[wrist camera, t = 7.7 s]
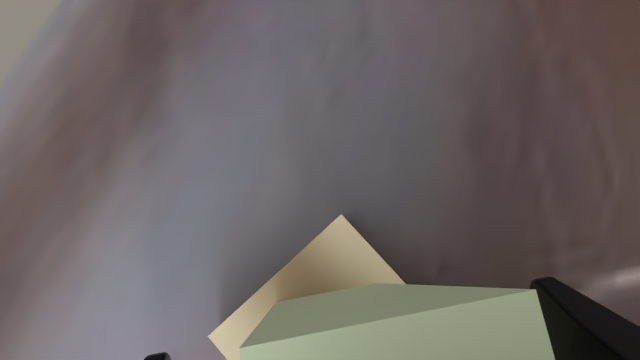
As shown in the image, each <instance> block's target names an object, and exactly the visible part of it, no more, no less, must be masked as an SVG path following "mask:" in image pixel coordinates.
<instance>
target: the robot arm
mask: <svg viewBox="0 0 640 360" xmlns="http://www.w3.org/2000/svg"><path fill="white" fill-rule="evenodd" d="M529 289H536V292H537V295H538V299H539V303H540V306H541V310H542V314H543V317H544V321H545V324H546V328H547V332H548V335H549V339H550V343H551V346H552V350H553V353H554V357H555V360H640V327H639V326H637V325H635V324H634V323H632V322H630V321H628V320H627V319H625V318H623V317H621V316H620V315H618V314H616V313H614V312H613V311H611V310H609V309H607V308H606V307H604V306H602V305H600V304H599V303H597V302H595V301H593V300H592V299H590V298H588V297H586V296H585V295H583V294H581V293H579V292H578V291H576V290H574V289H572V288H571V287H569V286H567V285H565V284H564V283H562V282H560V281H558V280H557V279H555V278H552V277H544V278H539V279H535V280H533V281H532V282H531V284H530V288H529ZM144 360H171V358H170V356H169V355H168V353H166V352H162V353H157V354H152V355H149V356H147V357H146V358H145V359H144Z"/></svg>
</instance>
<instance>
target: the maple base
mask: <svg viewBox="0 0 640 360" xmlns="http://www.w3.org/2000/svg"><path fill="white" fill-rule="evenodd" d="M374 283H385V284H405V283H404V281H403V280H402V279H401V278H400V277H399V276H398V275H397V274H396V273H395V272H394V271H393V270H392V268H391V267H390V266H389V265H388V264H387V263H386V262H385V261H384V260H383V259H382V258H381V257H380V255H379V254H378V253H377V252H376V251H375V250H374V249H373V248H372V247H371V246H370V245H369V244H368V243H367V241H366V240H365V239H364V238H363V237H362V236H361V235H360V234H359V233H358V232H357V231H356V230H355V228H354V227H353V226H352V225H351V224H350V223H349V222H348V221H347V220H346V219H345V218H344V217H343V215H342V214H341V215H340V216H339V217H338V218H336V219H335V220H334V221H333V222H332V223H331V224H330V225H329V226H328V227H327V228H325V229H324V230H323V231H322V232H321V233H320V234H319V235H318V236H317V237H316V238H315V239H313V240H312V241H311V242H310V243H309V244H308V245H307V246H306V247H305V248H304V249H303V250H301V251H300V252H299V253H298V254H297V255H296V256H295V257H294V258H293V259H292V260H291V261H289V262H288V263H287V264H286V265H285V266H284V267H283V268H282V269H281V270H280V271H279V272H277V273H276V274H275V275H274V276H273V277H272V278H271V279H270V280H269V281H268V282H267V283H265V284H264V285H263V286H262V287H261V288H260V289H259V290H258V291H257V292H256V293H255V294H253V295H252V296H251V297H250V298H249V299H248V300H247V301H246V302H245V303H244V304H243V305H241V306H240V307H239V308H238V309H237V310H236V311H235V312H234V313H233V314H232V315H231V316H229V317H228V318H227V319H226V320H225V321H224V322H223V323H222V324H221V325H220V326H219V327H217V328H216V329H215V330H214V331H213V332H212V333H211V334H210V335H209V336H208V337H209V338H210V340H211V341H212V342H213V343H214V344H215V346H216V347H217V348H218V349H219V350H220V352H221V353H222V354H223V355H224V356H225V357H226V359H227V360H240V352H239V348H240V346H241V345H242V344H243V343H244V341H245V340H246V339H247V338H248V336H249V335H250V334H251V333H252V331H253V330H254V329H255V328H256V327H257V325H258V324H259V323H260V322H261V320H262V319H263V318H264V317H265V315H266V314H267V313H268V312H269V310H270V309H271V308H272V307H273V305H274V304H275V303H276V302H279V301H284V300H289V299H295V298H300V297H305V296H311V295H316V294H321V293H326V292H332V291H337V290H342V289H347V288H353V287H358V286H363V285H369V284H374Z"/></svg>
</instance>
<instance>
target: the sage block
mask: <svg viewBox="0 0 640 360" xmlns="http://www.w3.org/2000/svg"><path fill="white" fill-rule="evenodd" d="M239 352H240V360H555V357H554V353H553V350H552V346H551V343H550V339H549V335H548V332H547V328H546V324H545V321H544V317H543V314H542V310H541V306H540V303H539V299H538V295H537V292H536V289H513V288H487V287H462V286H436V285H411V284H385V283H374V284H369V285H363V286H358V287H353V288H347V289H342V290H337V291H332V292H326V293H321V294H316V295H311V296H305V297H300V298H295V299H289V300H284V301H279V302H276V303H275V304H274V305H273V307H272V308H271V309H270V310H269V312H268V313H267V314H266V315H265V317H264V318H263V319H262V320H261V322H260V323H259V324H258V325H257V327H256V328H255V329H254V330H253V331H252V333H251V334H250V335H249V336H248V338H247V339H246V340H245V341H244V343H243V344H242V345H241V346H240V348H239Z"/></svg>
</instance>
